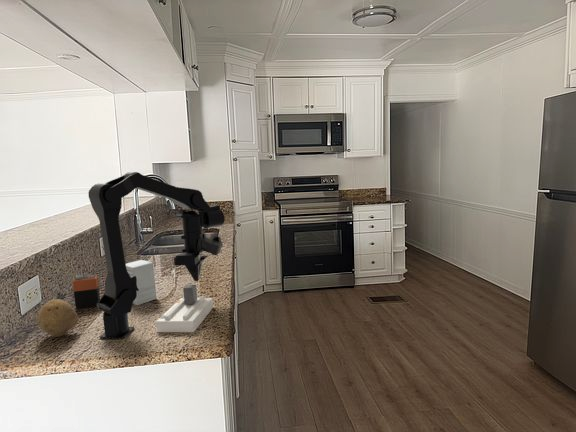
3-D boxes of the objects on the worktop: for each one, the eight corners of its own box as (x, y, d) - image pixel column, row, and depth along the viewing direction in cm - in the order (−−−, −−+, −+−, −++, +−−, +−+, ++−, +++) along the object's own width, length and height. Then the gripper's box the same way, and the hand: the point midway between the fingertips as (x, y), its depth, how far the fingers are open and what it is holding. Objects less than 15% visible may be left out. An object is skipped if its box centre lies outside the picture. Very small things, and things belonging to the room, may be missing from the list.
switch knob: (194, 304, 117) (192, 287, 117) (184, 304, 118) (183, 288, 117) (197, 300, 120) (196, 284, 120) (188, 301, 121) (186, 284, 120)
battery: (78, 304, 133) (74, 274, 131) (100, 301, 135) (97, 272, 133) (75, 309, 128) (71, 278, 127) (98, 305, 130) (95, 275, 129)
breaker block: (193, 332, 106) (192, 317, 106) (157, 332, 107) (155, 317, 107) (213, 307, 124) (212, 294, 123) (181, 307, 125) (180, 295, 124)
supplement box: (145, 295, 139) (141, 259, 137) (157, 299, 134) (153, 262, 132) (124, 301, 133) (120, 264, 131) (136, 305, 128) (132, 267, 127)
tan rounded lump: (32, 338, 107) (27, 302, 106) (66, 326, 114) (62, 292, 113) (50, 345, 102) (45, 307, 101) (84, 332, 109) (80, 297, 108)
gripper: (209, 235, 113) (213, 290, 115) (226, 225, 131) (229, 272, 133) (171, 236, 114) (175, 290, 116) (193, 226, 132) (196, 272, 134)
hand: (196, 280), depth 125 cm, fingers closed
